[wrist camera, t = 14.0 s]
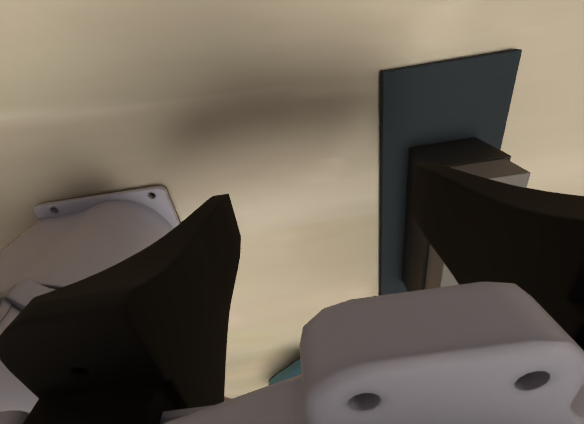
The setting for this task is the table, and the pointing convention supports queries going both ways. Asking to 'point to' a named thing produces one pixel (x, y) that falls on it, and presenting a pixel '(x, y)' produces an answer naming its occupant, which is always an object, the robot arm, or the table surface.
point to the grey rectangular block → (465, 157)
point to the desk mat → (434, 130)
